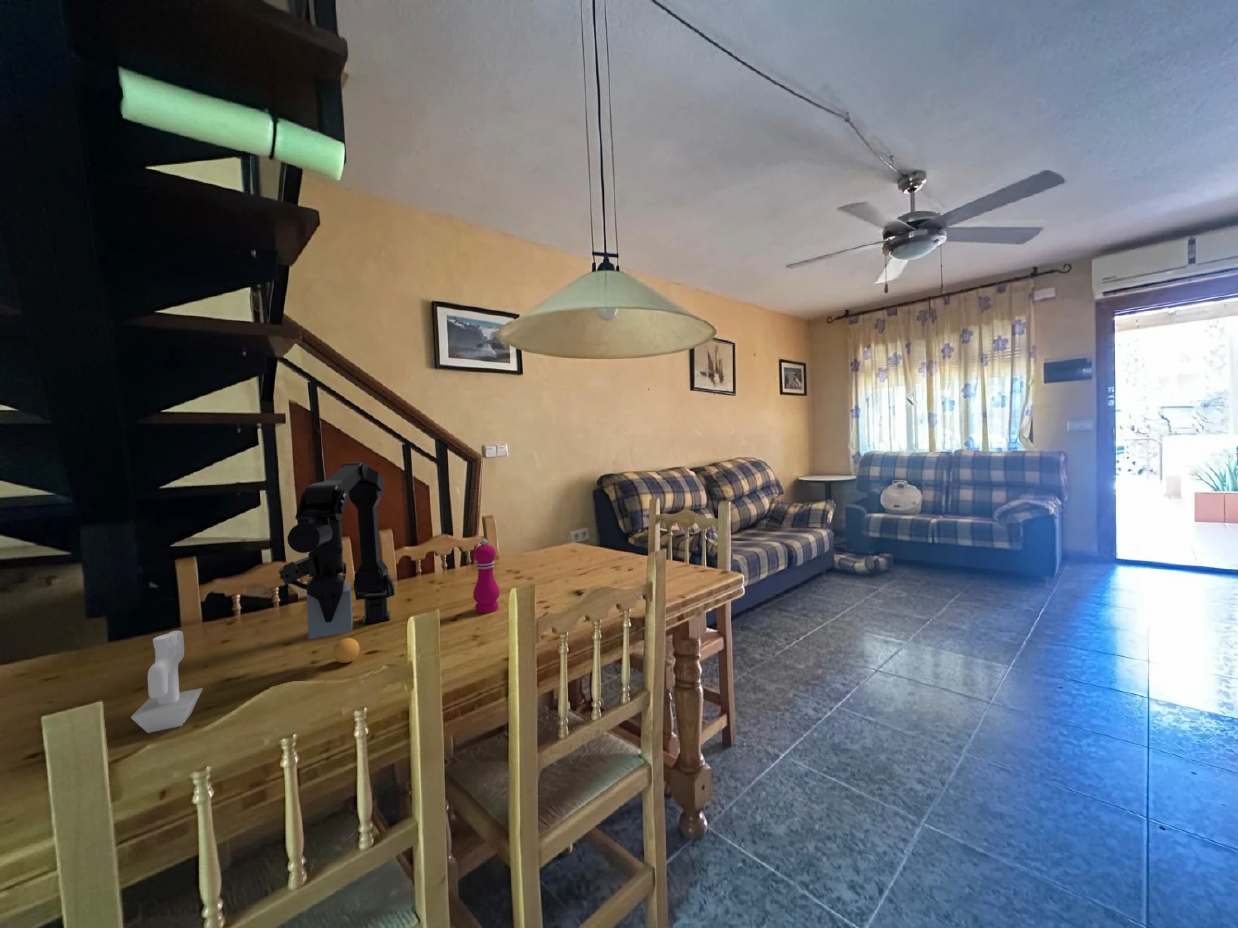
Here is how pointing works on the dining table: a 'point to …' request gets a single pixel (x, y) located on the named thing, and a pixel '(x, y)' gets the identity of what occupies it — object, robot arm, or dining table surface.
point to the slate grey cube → (340, 620)
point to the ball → (346, 650)
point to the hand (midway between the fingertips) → (330, 616)
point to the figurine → (166, 688)
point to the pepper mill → (485, 579)
